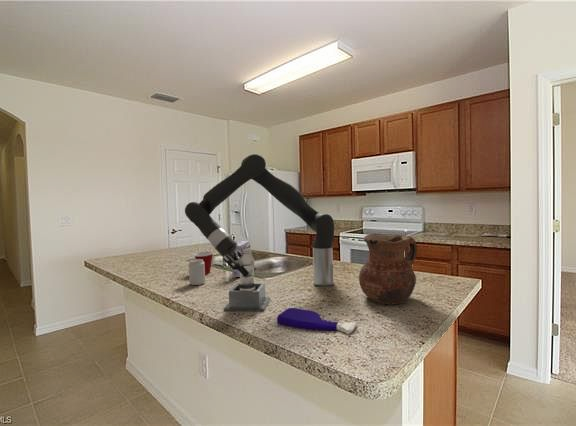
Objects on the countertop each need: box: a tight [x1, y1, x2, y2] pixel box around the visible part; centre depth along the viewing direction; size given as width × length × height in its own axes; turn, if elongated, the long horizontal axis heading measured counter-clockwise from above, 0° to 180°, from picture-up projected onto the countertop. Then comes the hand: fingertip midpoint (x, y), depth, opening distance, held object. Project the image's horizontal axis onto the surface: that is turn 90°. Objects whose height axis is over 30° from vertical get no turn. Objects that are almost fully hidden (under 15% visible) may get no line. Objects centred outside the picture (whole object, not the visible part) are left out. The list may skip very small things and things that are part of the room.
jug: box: [358, 233, 418, 305], centre depth 119 cm, size 22×21×25 cm
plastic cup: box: [193, 250, 214, 275], centre depth 171 cm, size 11×11×12 cm
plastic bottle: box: [239, 246, 256, 291], centre depth 117 cm, size 6×7×20 cm
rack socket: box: [223, 282, 271, 312], centre depth 117 cm, size 15×13×7 cm
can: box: [188, 258, 206, 286], centre depth 149 cm, size 8×8×12 cm
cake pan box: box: [231, 240, 251, 277], centre depth 167 cm, size 19×5×18 cm, turn 168°
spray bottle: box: [276, 307, 358, 335], centre depth 97 cm, size 3×11×24 cm
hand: (250, 272), depth 116 cm, fingers closed on plastic bottle, 6 cm apart
